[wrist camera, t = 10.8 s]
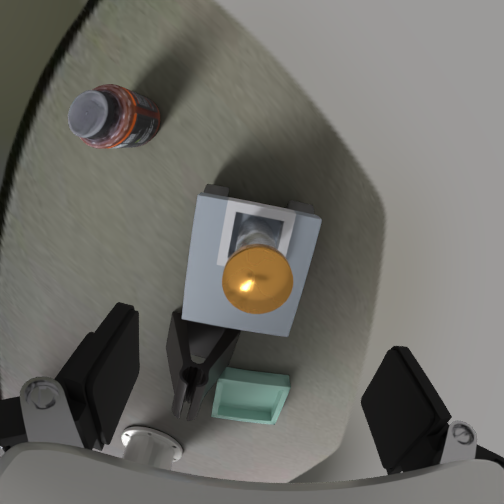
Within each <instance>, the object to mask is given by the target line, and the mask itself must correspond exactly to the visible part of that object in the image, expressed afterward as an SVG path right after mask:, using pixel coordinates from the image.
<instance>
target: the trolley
mask: <svg viewBox="0 0 504 504" xmlns="http://www.w3.org/2000/svg"><path fill="white" fill-rule="evenodd" d="M228 195H229V188H228V187H223V186H217V185H211V184H207V185H206V187H205V190H204V193H202V192H201V193H200V194H199V195H198V197H197V203H196V210H195V216H194V223H193V229H192V236H191V243H190V251H189V258H188V266H187V274H186V283H185V291H184V300H183V310H182V319H185V320H190V321H195V322H200V323H205V324H210V325H215V326H221V327H226V328H232V329H238V330H244V331H250V332H256V333H263V334H270V335H276V336H284V337H288V336H289V332H290V329H291V326H292V323H293V320H294V317H295V313H296V310H297V307H298V304H299V300H300V297H301V294H302V290H303V287H304V284H305V280H306V277H307V273H308V270H309V266H310V263H311V259H312V256H313V252H314V248H315V245H316V241H317V237H318V234H319V230H320V226H321V222H322V219H321V218H320V217H319V216H318V215H314V208H313V205H311V204H306V203H302V202H298V201H293V200H290V201H289V203H288V205H287V208H281V207H277V206H272V205H267V204H262V203H257V202H252V201H247V200H241V199H236V198H231V197H228ZM250 218H260V219H263V220H265V221H266V222H267V223H268V224H269V225H270V227H271V229H272V233H273V237H274V240H275V244H276V248H277V250H279V251H280V252H281V253H282V254H283V255H284V256H285V257H286V259H287V260H288V262H289V265H290V268H291V271H292V274H293V288H292V292H291V294H290V296H289V298H288V299H287V301H286V302H285V303H284V304H283V305H282V306H280V307H279V308H277V309H276V310H274V311H271V312H268V313H264V314H251V313H246V312H243V311H241V310H239V309H237V308H236V307H234V306H233V305H232V304H231V303H230V302H229V301H228V299H227V298H226V296H225V294H224V291H223V288H222V276H223V272H224V267H225V264H226V262H227V260H228V259H229V257H230V256H231V255H232V254H233V253H234V252H235V250H236V243H237V236H238V230H239V228H240V226H241V224H242V223H243V222H244V221H246V220H247V219H250Z"/></svg>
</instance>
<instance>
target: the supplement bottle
mask: <svg viewBox="0 0 504 504" xmlns="http://www.w3.org/2000/svg"><path fill="white" fill-rule="evenodd" d="M68 123H69V127H70V129H71V131H72V132H73V133H74V134H75V135H76V136H78V137H80V138H81V140H83V141H84V142H85V143H86V144H87V145H89V146H91V147H94V148H125V147H138V146H141V145H144V144H146V143H147V142H149V141H150V140H151V139H152V138H153V137H154V136H155V134H156V133H157V131H158V128H159V125H160V112H159V109H158V107H157V106H156V104H155V103H154V102H153V101H152V100H150V99H149V98H147V97H145V96H142V95H140V94H137V93H135V92H133V91H130V90H128V89H125V88H123V87H120V86H118V85H113V84H107V85H101V86H98V87H96V88H94V89H93V90H88V91H85V92H83V93H81V94H80V95H79V96H77V97H76V98H75V100H74V101H73V103H72V104H71V106H70V109H69V113H68Z"/></svg>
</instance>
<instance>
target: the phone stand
mask: <svg viewBox="0 0 504 504" xmlns="http://www.w3.org/2000/svg"><path fill="white" fill-rule="evenodd" d="M239 334H240V330H238V329H232V328H226V327H221V326H215V325H210V324H205V323H200V322H195V321H190V320H185V319H182V313H178V312H173V313H172V318H171V323H170V328H169V334H168V339H167V344H166V351H167V357H168V362H169V368H170V373H171V378H172V384H173V389H174V393H175V395H174V400H173V404H172V412H173V414H174V415H175V416H176V417H177V418H180V415H181V411H182V407H183V403H184V402H186V401H187V402H188V403H191V405H190V408H189V412H188V416H187V421H190V420H193V419H195V418H196V417H197V415H198V412H199V409H200V406H201V403H202V399H203V398H204V396H205V395H206V394H207V392H208V391H209V390H210V389H211V387H212V386H213V385H214V383H215V382H216V381H217V379H218V378H219V377H220V375H221V374H222V373H223V371H224V370H225V369H226V367H227V366H228V365H229V362H230V359H231V356H232V354H233V351H234V348H235V345H236V342H237V339H238V337H239ZM190 354H192V355H195V356H199V357H203V358H207V359H206V360H205V362H204V363H202V364H196V363H194V362H193V361H192V360H191V355H190Z"/></svg>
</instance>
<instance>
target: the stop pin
mask: <svg viewBox="0 0 504 504" xmlns="http://www.w3.org/2000/svg"><path fill="white" fill-rule="evenodd" d="M222 288H223V291H224V294H225V296H226V298H227V299H228V301H229V302H230V303H231V304H232V305H233V306H234V307H236V308H237V309H239V310H241V311H243V312H246V313H251V314H264V313H268V312H271V311H274V310H276V309H277V308H279V307H280V306H282V305H283V304H284V303H285V302H286V301H287V299H288V298H289V296H290V294H291V292H292V288H293V274H292V271H291V268H290V265H289V262H288V260H287V259H286V257H285V256H284V255H283V254H282V253H281V252H280V251H279V250H277V248H276V244H275V240H274V237H273V233H272V229H271V227H270V225H269V224H268V223H267V222H266V221H265V220H263V219H260V218H250V219H247V220H246V221H244V222H243V223H242V224H241V226H240V228H239V230H238V236H237V243H236V250H235V252H234V253H233V254H232V255H231V256H230V257H229V259H228V260H227V262H226V264H225V267H224V272H223V276H222Z"/></svg>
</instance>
